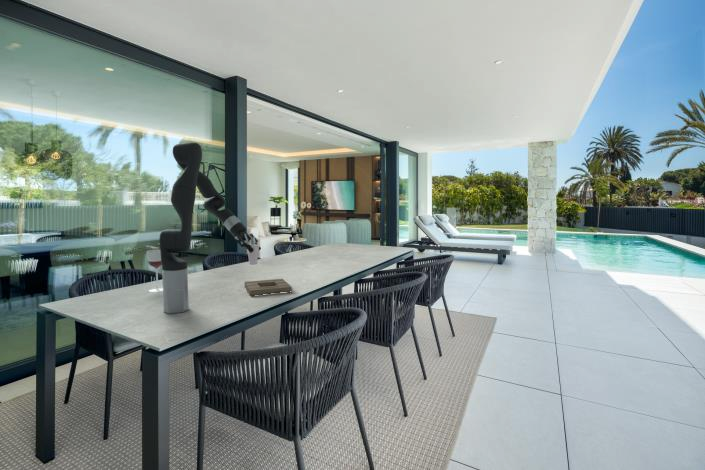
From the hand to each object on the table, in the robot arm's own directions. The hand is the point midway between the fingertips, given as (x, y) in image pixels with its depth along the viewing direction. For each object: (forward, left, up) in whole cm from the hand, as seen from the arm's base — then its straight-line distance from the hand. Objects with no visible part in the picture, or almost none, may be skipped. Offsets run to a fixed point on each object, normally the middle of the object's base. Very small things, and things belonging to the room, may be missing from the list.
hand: (256, 250), depth 180 cm
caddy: (-2, -5, -20) cm, 21 cm away
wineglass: (+18, +46, -20) cm, 53 cm away
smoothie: (+1, +1, -7) cm, 7 cm away
